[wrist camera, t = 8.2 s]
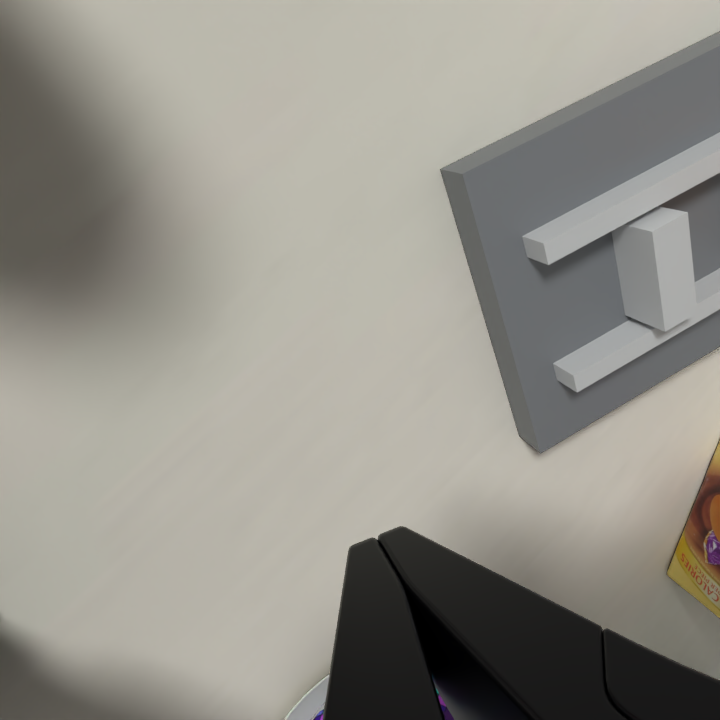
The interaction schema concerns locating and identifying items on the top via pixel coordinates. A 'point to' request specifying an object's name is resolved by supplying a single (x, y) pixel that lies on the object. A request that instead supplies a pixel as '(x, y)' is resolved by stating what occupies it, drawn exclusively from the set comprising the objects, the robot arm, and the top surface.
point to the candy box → (702, 544)
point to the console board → (599, 243)
